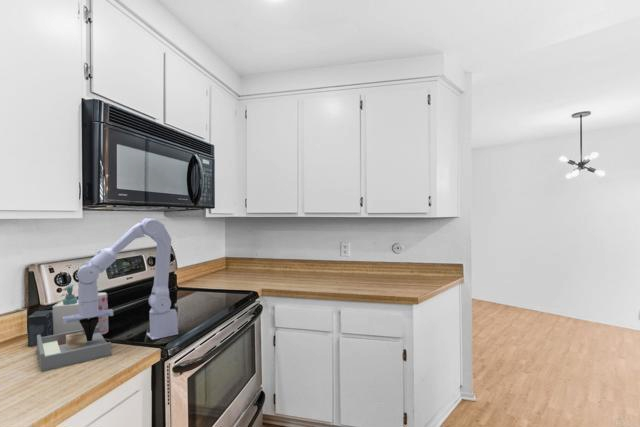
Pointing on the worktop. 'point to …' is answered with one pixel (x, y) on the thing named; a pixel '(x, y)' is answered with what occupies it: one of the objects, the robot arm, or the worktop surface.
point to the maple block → (75, 340)
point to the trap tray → (58, 355)
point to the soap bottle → (66, 313)
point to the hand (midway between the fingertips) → (89, 340)
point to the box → (39, 326)
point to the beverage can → (103, 306)
